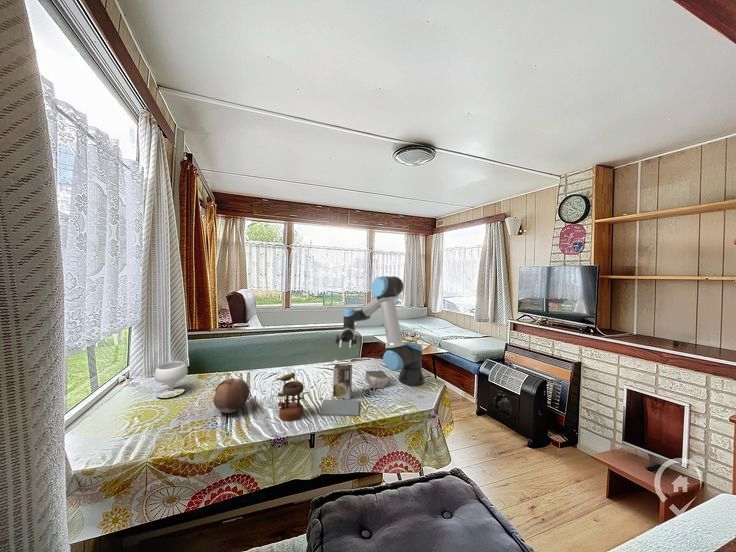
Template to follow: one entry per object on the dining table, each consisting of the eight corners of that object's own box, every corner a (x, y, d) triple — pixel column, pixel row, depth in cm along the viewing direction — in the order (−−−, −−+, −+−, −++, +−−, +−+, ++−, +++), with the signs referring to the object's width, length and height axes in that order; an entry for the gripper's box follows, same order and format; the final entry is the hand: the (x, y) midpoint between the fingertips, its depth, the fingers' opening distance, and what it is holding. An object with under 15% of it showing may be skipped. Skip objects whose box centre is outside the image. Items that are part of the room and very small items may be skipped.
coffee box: (351, 394, 148) (352, 364, 148) (349, 399, 142) (350, 368, 141) (335, 392, 149) (335, 363, 148) (332, 398, 143) (333, 367, 142)
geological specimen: (382, 369, 172) (390, 377, 158) (381, 379, 172) (389, 388, 157) (365, 370, 169) (372, 378, 155) (365, 380, 169) (371, 389, 155)
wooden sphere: (252, 401, 137) (252, 372, 136) (244, 418, 122) (244, 385, 121) (219, 403, 134) (220, 373, 133) (207, 420, 119) (207, 386, 119)
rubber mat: (359, 401, 140) (359, 400, 140) (358, 416, 126) (358, 414, 126) (323, 400, 140) (323, 399, 140) (319, 415, 126) (319, 413, 126)
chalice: (155, 403, 132) (155, 372, 132) (153, 392, 143) (153, 364, 142) (189, 395, 142) (189, 366, 141) (185, 385, 152) (185, 358, 152)
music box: (278, 425, 117) (278, 377, 118) (273, 415, 127) (273, 371, 128) (313, 416, 125) (312, 371, 126) (305, 407, 134) (305, 365, 135)
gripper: (361, 341, 179) (360, 352, 155) (333, 340, 179) (328, 351, 155) (361, 329, 178) (361, 339, 155) (334, 328, 178) (329, 338, 155)
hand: (345, 345), depth 155 cm, fingers open, 5 cm apart
